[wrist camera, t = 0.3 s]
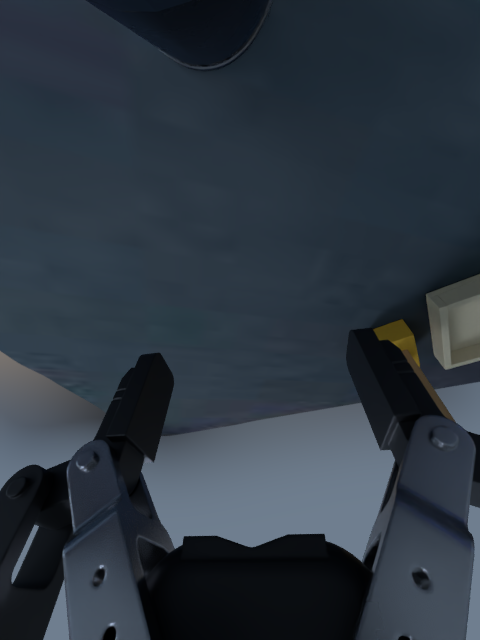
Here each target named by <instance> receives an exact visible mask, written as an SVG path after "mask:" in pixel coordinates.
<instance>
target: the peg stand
mask: <svg viewBox="0 0 480 640" xmlns="http://www.w3.org/2000/svg"><path fill="white" fill-rule="evenodd" d="M373 330H374V332H375V334H376V336H377V337H378V339H379V340H387V339H388V340H389V341H391V342H392V343H393V344H394V345H396V346H397V347H398V348H400V349H401V351H402V353H403V354H404V356H405V357H406V359H407V360H408V363H410V365H411V366H412V368H413V370H414V373H416V374H417V376H418V377H419V379H420V380H421V382H422V383H423V385H424V387H425V388H426V390H427V391H428V393H429V394H430V396H431V397H432V399H433V400H434V402H435V404H436V405H437V407H438V408H439V410H440V411H441V412H442V414H443V415H444V416H445V417H446V418H448V419H450V420H452V421H454V422H455V420H454V419H453V418H452V416H451V414H450V413H449V412H448V410H447V408H446V407H445V405H444V404H443V402H442V401H441V399H440V398H439V396H438V395H437V393H436V392H435V390H434V389H433V387H432V386H431V384H430V383H429V381H428V380H427V378H426V377H425V375H424V374H423V372H422V371H421V369H420V368H419V367H420V363H419V358H418V353H417V348H416V343H415V338H414V334H413V333H412V332H411V330H410V329H409V328H408V326H407V325H406V323H405V322H404V321H403V319H401V320H398V321H395V322H392V323H389V324H386V325H384V326H381V327H378V328H375V329H373Z"/></svg>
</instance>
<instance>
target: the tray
mask: <svg viewBox="0 0 480 640" xmlns="http://www.w3.org/2000/svg"><path fill="white" fill-rule="evenodd" d="M426 300H427V307H428V315H429V322H430V329H431V336H432V344H433V351H434V355H435V357H436V358H437V359H438V361H439V362H440V363H441V365H442V366H443V367H444V369H445V370H446V369H450V368H454V367H458V366H461V365H465V364H469V363H472V362H476V361H480V274H478V275H475V276H473V277H470V278H467V279H465V280H462V281H459V282H457V283H454V284H451V285H449V286H446V287H443V288H440V289H438V290H435V291H432V292H430V293H427V294H426Z"/></svg>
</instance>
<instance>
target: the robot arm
mask: <svg viewBox="0 0 480 640" xmlns="http://www.w3.org/2000/svg"><path fill="white" fill-rule="evenodd" d="M86 1H87V2H89V3H90V4H92V5H94V6H95V7H97V8H98V9H100V10H101V11H103V12H104V13H106V14H107V15H109V16H110V17H112V18H113V19H115V20H116V21H118V22H119V23H121V24H122V25H124V26H125V27H127V28H128V29H130V30H132V31H133V32H135V33H136V34H138V35H139V36H141V37H142V38H144V39H145V40H147V41H148V42H150V43H151V44H153V45H154V46H156V47H157V48H158V49H159V50H160V51H161V52H163V53H164V54H165V55H167V56H168V57H169V58H171V59H172V60H174V61H175V62H177V63H179V64H181V65H183V66H185V67H188V68H191V69H195V70H201V71H209V70H215V69H219V68H222V67H225V66H227V65H229V64H231V63H232V62H234V61H235V60H236V59H238V58H239V57H240V56H241V55H242V54H243V53H244V52H245V51H246V50H247V49H248V48H249V46H250V45H251V44H252V43H253V41H254V40H255V38H256V36H257V35H258V33H259V31H260V29H261V27H262V26H263V23H264V21H265V19H266V16H267V14H268V11H269V8H270V5H271V2H272V0H86ZM271 6H272V5H271ZM270 10H271V9H270ZM269 14H270V13H269ZM268 18H269V17H268ZM346 361H347V366H348V370H349V372H350V375H351V377H352V380H353V382H354V385H355V387H356V390H357V392H358V395H359V397H360V400H361V403H362V405H363V407H364V410H365V413H366V415H367V417H368V420H369V422H370V425H371V428H372V430H373V433H374V435H375V438H376V440H377V443H378V445H379V448H380V450H391V451H392V453H393V456H394V458H395V462H394V465H393V468H392V472H391V475H390V478H389V481H388V484H387V488H386V491H385V494H384V497H383V501H382V504H381V507H380V510H379V513H378V516H377V519H376V521H375V524H374V526H373V529H372V531H371V534H370V537H369V541H368V544H367V547H366V550H365V553H364V556H363V560H362V562H361V561H360V560H358V559H357V558H356V557H355V556H354V555H353V554H351V553H349V552H348V551H346V550H345V549H343V548H341V547H339V546H337V545H335V544H333V543H330V542H327V541H325V535H324V534H295V535H294V534H293V535H285V536H283V537H280V538H277V539H275V540H272V541H269V542H267V543H264V544H262V545H259V546H256V547H247V546H244V545H241V544H238V543H235V542H232V541H230V540H227V539H224V538H221V537H218V536H184V539H183V545H182V546H180V547H178V548H176V549H175V548H174V546H173V543H172V541H171V538H170V537H169V534H168V532H167V531H166V529H165V528H164V526H163V525H162V524H161V522H160V520H159V518H158V515H157V513H156V510H155V507H154V504H153V502H152V499H151V496H150V493H149V491H148V488H147V485H146V482H145V480H144V477H143V474H142V473H141V469H142V466H143V463H154V460H155V456H156V452H157V449H158V444H159V441H160V437H161V433H162V429H163V425H164V421H165V418H166V414H167V410H168V406H169V402H170V398H171V394H172V391H173V386H174V378H173V374H172V372H171V371H170V369H169V367H168V365H167V364H166V362H165V360H164V358H163V357H162V355H161V354H160V353H152V354H144V355H141V356H140V357H139V359H138V361H137V364H136V366H135V368H131V369H130V370H129V371H128V372H127V373H126V374H125V376H124V377H123V378H122V380H121V382H120V384H119V386H118V389H117V392H116V393H115V395H114V397H113V401H112V402H111V404H110V406H109V408H108V410H107V413H106V415H105V417H104V419H103V421H102V424H101V426H100V428H99V430H98V433H97V434H96V436H95V438H94V440H93V441H91V442H88V443H87V444H85V445H84V446H82V447H81V448H80V449H79V450H78V451H77V452H76V453H75V454H74V456H73V457H72V459H71V460H69V461H66V462H64V463H61V464H59V465H57V466H54V467H52V468H49V469H47V470H46V469H44V468H42V467H40V466H38V465H29V466H27V467H25V468H23V469H21V470H19V471H18V472H17V473H16V474H14V475H13V476H12V477H11V478H10V479H9V480H8V481H7V482H6V483H5V485H4V486H3V488H2V489H1V491H0V640H43V638H44V635H45V632H46V630H47V627H48V624H49V621H50V618H51V615H52V612H53V609H54V606H55V604H56V601H57V598H58V595H59V592H60V589H61V586H62V583H63V580H65V591H66V604H67V615H68V627H69V639H70V640H466V632H467V622H468V611H469V602H470V591H471V582H472V572H473V562H474V540H473V536H472V534H471V533H470V532H469V531H468V525H467V523H468V513H469V505H472V506H476V507H479V508H480V435H477V434H474V433H471V432H468V431H466V430H465V429H463V428H462V427H461V426H460V425H458V424H457V423H456V422H454V421H452V420H450V419H448V418H446V417H445V416H444V415H443V414H442V412H441V411H440V410H439V408H438V407H437V405H436V404H435V402H434V400H433V399H432V397H431V396H430V394H429V393H428V391H427V390H426V388H425V387H424V385H423V383H422V382H421V380H420V379H419V377H418V376H417V374H416V373H414V370H413V368H412V366H411V365H410V363H408V360H407V359H406V357H405V356H404V354H403V353H402V351H401V349H400V348H398V347H397V346H396V345H394V344H393V343H392V342H391V341H389V340H388V339H387V340H379V339H378V337H377V336H376V334H375V332H374V330H373V329H372V328H365V329H357V330H350V332H349V338H348V346H347V353H346ZM34 525H37V526H39V528H38V531H37V532H36V535H35V537H34V539H33V541H32V544H31V546H30V548H29V550H28V552H27V555H26V557H25V559H24V561H23V564H22V566H21V568H20V570H19V572H18V575H17V577H16V579H15V581H14V582H13V584H12V582H11V577H12V572H13V569H14V567H15V565H16V563H17V561H18V558H19V556H20V554H21V552H22V550H23V548H24V546H25V544H26V541H27V539H28V537H29V535H30V533H31V531H32V528H33V526H34Z"/></svg>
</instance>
